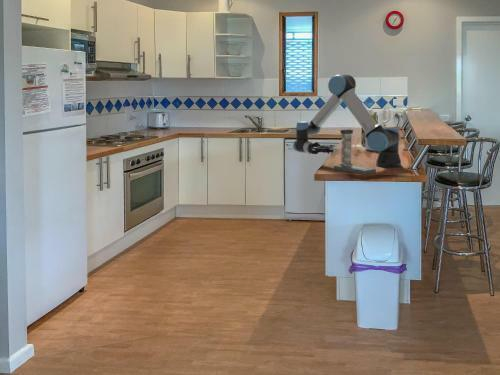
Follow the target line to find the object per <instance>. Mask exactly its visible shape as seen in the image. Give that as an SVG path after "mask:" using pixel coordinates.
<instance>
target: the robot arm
mask: <svg viewBox="0 0 500 375" xmlns="http://www.w3.org/2000/svg"><path fill="white" fill-rule="evenodd" d="M327 84H328V85H327V87H328V88H327V89H328V91H329V92H330V93H331V94H332V95H331V96H330V97H329V98H328V99H327V101H326V102H325V103H324V105H322V107H321V108H320V110H318V112H317V113H316V114H315V115H314V117H313V118H312V119H311V120H310V122H308V121H297V122H296V130H295V131H296V140H294V142H293V144H292V149H293V150H294V151H295V152H299V153H305V154H308V155H318V154H319V153H323V154H324V153H325V154H326V153H327V154H328V155H329V154H336V155H337V154H339V152H340V150H339V148H335V147H332V146H328V145H326V146H325V145H321V144H320V143H319V142H317V141H309V136H314V135H315V136H316V135H317V134H319V133H320V132H321V128H322V126H323V125H324V124H325V123H326V122H327V121H328V119H329V118H330V117H331V116H332V115H333V113H334V112H335V111H336V110H338V108H339V106H340V105H341V104H342V103H344V105H345V106H346V107H347V109H348V110H349V112H350V113H351V114H352V115H353V117H354V118H355V120H356V121H357V123H358V124H359V125H360V127H361V129H362V128H363V130H364V131H365V137H366V138H367V144H368V146H369V147H370V148H371V149H372V150H374V151H373V152H378V155H377V159H376V161H375V166H377V167H383V168H392V167H393V168H394V167H395V168H396V167H401V166H402V161H401V158H400V154H399V147H400V146H399V145H400V129H398V128H395V127H383V126H382V124H379V123H378V124H377V123H376V122H375V120H376V119H375V120H374V119H373V117H372V116H371V115H372V114H371V113H370V112H369V110H368V109H367V108H366V106H365V105H364V103H363V102H362V100H361V99H360V98H359V96H358V95H357V93H356V86H357V82H356V80H355V77H354V76H352V75H350V74H336V75H333V76H332V77H330V79H329V81H328V83H327ZM372 150H371V151H372Z"/></svg>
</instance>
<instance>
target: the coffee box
mask: <svg viewBox="0 0 500 375" xmlns="http://www.w3.org/2000/svg"><path fill="white" fill-rule="evenodd" d="M365 138H366V137H365V131H364V130H363V128H362V127H361V146H362V147H365Z"/></svg>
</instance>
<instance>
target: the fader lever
mask: <svg viewBox="0 0 500 375" xmlns="http://www.w3.org/2000/svg"><path fill="white" fill-rule="evenodd" d="M353 132H354V130H353V129H341V130H340V134H341V159H340V160H341V162H340V163H339V165H340V166H346V167H347V166H353V163H352V134H353Z"/></svg>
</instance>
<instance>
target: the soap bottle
mask: <svg viewBox="0 0 500 375" xmlns="http://www.w3.org/2000/svg"><path fill="white" fill-rule="evenodd" d="M370 115H371V116H372V117H373V119H374V120H375V122H376V123H377V124H379V123H378V122H379V121H378V120H376V119H377V118H376V114H375V115H374V114H370ZM364 148H365V149H364V150H365V151H373V152H375V151H374V150H372V149H371V148H370V147H369V146H368V144H367V138H365V146H364Z"/></svg>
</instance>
